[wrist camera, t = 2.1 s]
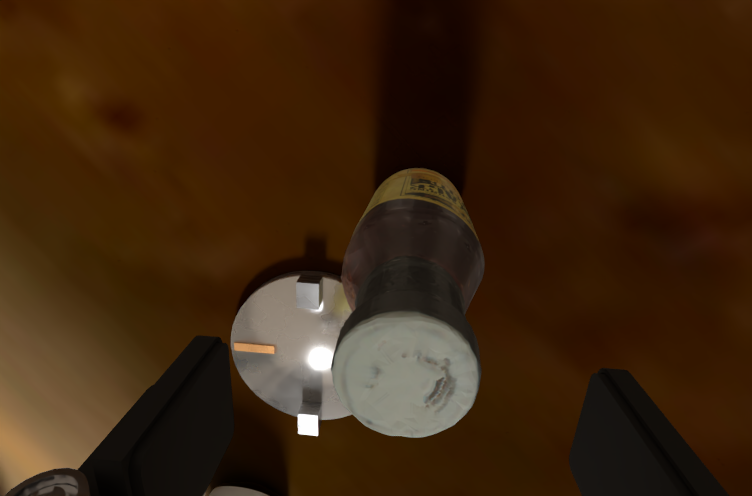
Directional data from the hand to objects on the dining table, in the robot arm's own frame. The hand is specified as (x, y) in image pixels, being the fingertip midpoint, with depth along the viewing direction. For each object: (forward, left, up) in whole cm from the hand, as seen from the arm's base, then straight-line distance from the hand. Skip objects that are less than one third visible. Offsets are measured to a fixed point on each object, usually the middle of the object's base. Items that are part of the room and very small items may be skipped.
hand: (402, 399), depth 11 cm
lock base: (+7, +12, -20) cm, 24 cm away
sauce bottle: (0, 0, -20) cm, 20 cm away
